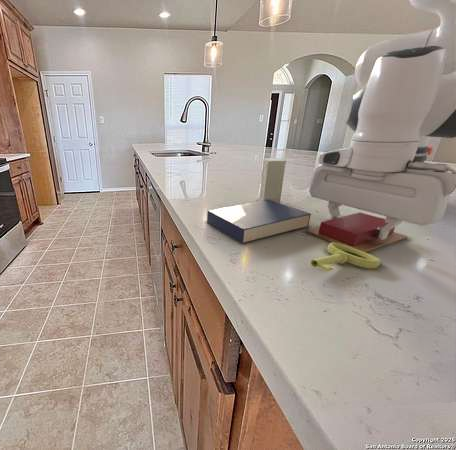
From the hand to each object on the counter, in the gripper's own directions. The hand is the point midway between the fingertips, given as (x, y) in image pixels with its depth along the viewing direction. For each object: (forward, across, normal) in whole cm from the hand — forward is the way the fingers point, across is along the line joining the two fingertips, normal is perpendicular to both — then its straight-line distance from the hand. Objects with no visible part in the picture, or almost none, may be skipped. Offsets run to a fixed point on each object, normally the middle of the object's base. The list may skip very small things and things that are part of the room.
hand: (355, 230), depth 48 cm
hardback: (+1, +13, +13) cm, 18 cm away
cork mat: (+1, 0, 0) cm, 1 cm away
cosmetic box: (+1, +23, -1) cm, 23 cm away
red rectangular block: (+1, 0, 0) cm, 1 cm away
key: (+1, -5, +13) cm, 14 cm away
